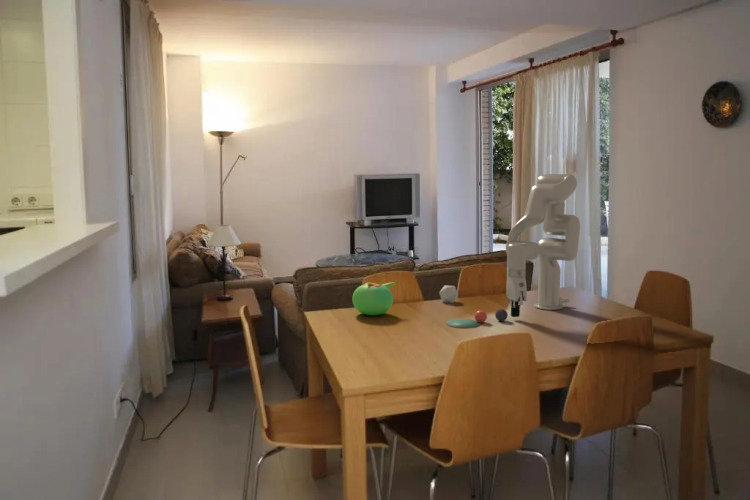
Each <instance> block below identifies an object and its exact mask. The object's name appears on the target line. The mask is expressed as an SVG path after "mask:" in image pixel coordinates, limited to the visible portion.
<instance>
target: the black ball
mask: <svg viewBox="0 0 750 500" xmlns="http://www.w3.org/2000/svg"><path fill="white" fill-rule="evenodd" d="M494 315H495V319H496V320H497V321H499V322H504V321H506V320H507V318H508V316H509V315H508V311H507V310H506V309H504V308H499V309H497V310H496V311H495V313H494Z"/></svg>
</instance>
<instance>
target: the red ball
mask: <svg viewBox="0 0 750 500" xmlns="http://www.w3.org/2000/svg"><path fill="white" fill-rule="evenodd" d="M487 318H488V315H487V312H486V311H484V310H478V311H475V313H474V320H475V321H477V322H480V323H482V324H483V323H485V322H486V321H487Z"/></svg>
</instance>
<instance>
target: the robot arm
mask: <svg viewBox="0 0 750 500" xmlns="http://www.w3.org/2000/svg"><path fill="white" fill-rule="evenodd" d="M577 185H578V180H577V177H575V175H573V174H572V173H571V174H570V173H547V174H546V173H545V174H541V175H540V176H538V177H537V180H536V184H534V185H533V186H532V187H531V188H530V191H529V195H528V200H527V203H526V206H525V211H524V214H523V217H522V218H520V219H519V220H518V221H517V222H516V223H515V224H514V225H513V226H512V227H511V229H510V231H509V233H508V236H507V239H506V243H505V253H506V256H507V257H506V287H505V289H506V291H505V292H506V298H508V301H509V302H510V317H511V318H512V317H513V318H519V317H520V316H521V314H520V311H521V310H520V309H521V306H523V305H524V302H527V300H528V297H527V296H528V293H527V291H528V290H527V288H528V287H527V286H528V285H527V280H526V279H527V278H526V273H527V272H526V271H527V260H530V261H531V260H532V261H533V260H535V259H537V258H538V281H537V283H538V284H537V302H535V303H534V304H533V306H534V307H535V308H536V309H540V310H548V311H557V310H562V309H563V308H564V303H570V298H569V297H565V298H564V297H561V271H562V270H561V266H560V264H559V262H558V261H565V262H572V261H574V260H575V259H576V258H577V255H578V249H579V242H580V241H579V240H580V231H581V222H580V219H579V217H578V216H577V215H575V214H565V207H566V206H565V205H566V204H565V203H566V202H565V201H566V200H568V198H570V197H571V195H572V194H574V192H575V190H576V189H577ZM541 224H542V229H543V232H544V233H545V235H551V236H563V237H564V238H559V237H558V238H557V237H545V238H541V239H540V240H539V241H538V242H535V241H530V240H529V241H526V240H519V239H520V236H521V235H522V234H523V233H524V232H525V231H526V230H529V229H531V228H533V227H536V226H540V225H541Z"/></svg>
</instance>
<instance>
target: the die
mask: <svg viewBox="0 0 750 500" xmlns="http://www.w3.org/2000/svg"><path fill="white" fill-rule="evenodd" d="M438 293H439V296H440V300H441V302H442V303H446V302H447V303H448V304H454V303H455V302H456V299H457V298H458V297H459V294H458V293H459V292H458V291H457V288H456V286H455V285H447V284H446V285H445V284H444V285H443V287H441V289H440V291H439V292H438ZM447 303H446V304H447Z"/></svg>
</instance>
